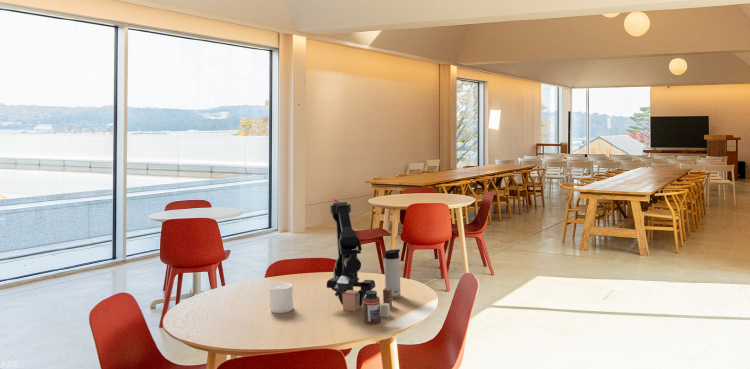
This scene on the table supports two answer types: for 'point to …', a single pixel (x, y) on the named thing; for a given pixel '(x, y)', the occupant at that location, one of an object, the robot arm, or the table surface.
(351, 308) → the pink foam cube
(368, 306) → the supplement bottle
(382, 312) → the white block
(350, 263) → the robot arm
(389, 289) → the post
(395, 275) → the travel mug
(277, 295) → the cup
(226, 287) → the table surface
